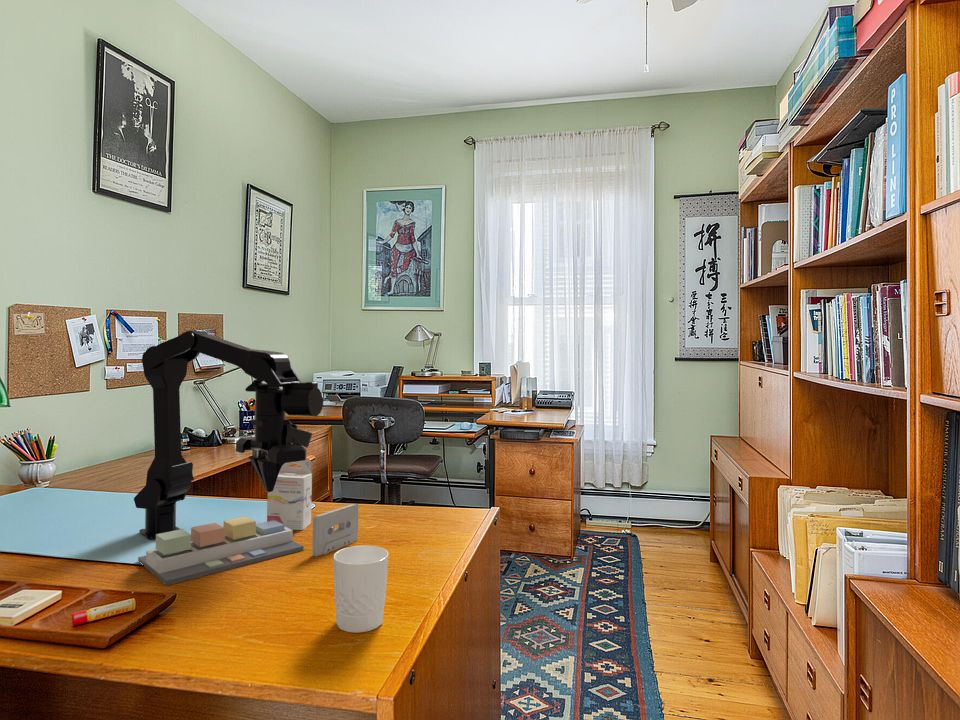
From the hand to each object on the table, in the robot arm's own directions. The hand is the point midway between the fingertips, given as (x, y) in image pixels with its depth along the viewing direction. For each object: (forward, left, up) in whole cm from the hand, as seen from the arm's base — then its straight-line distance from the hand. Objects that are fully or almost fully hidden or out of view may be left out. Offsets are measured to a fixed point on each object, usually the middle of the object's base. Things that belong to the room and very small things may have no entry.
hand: (269, 491), depth 116 cm
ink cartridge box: (-9, +9, -11) cm, 17 cm away
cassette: (+10, +9, -11) cm, 18 cm away
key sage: (0, -18, -7) cm, 19 cm away
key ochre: (0, -6, -7) cm, 10 cm away
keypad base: (0, -9, -11) cm, 14 cm away
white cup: (+40, -6, -11) cm, 42 cm away
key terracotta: (0, -12, -7) cm, 14 cm away
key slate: (0, 0, -9) cm, 9 cm away
